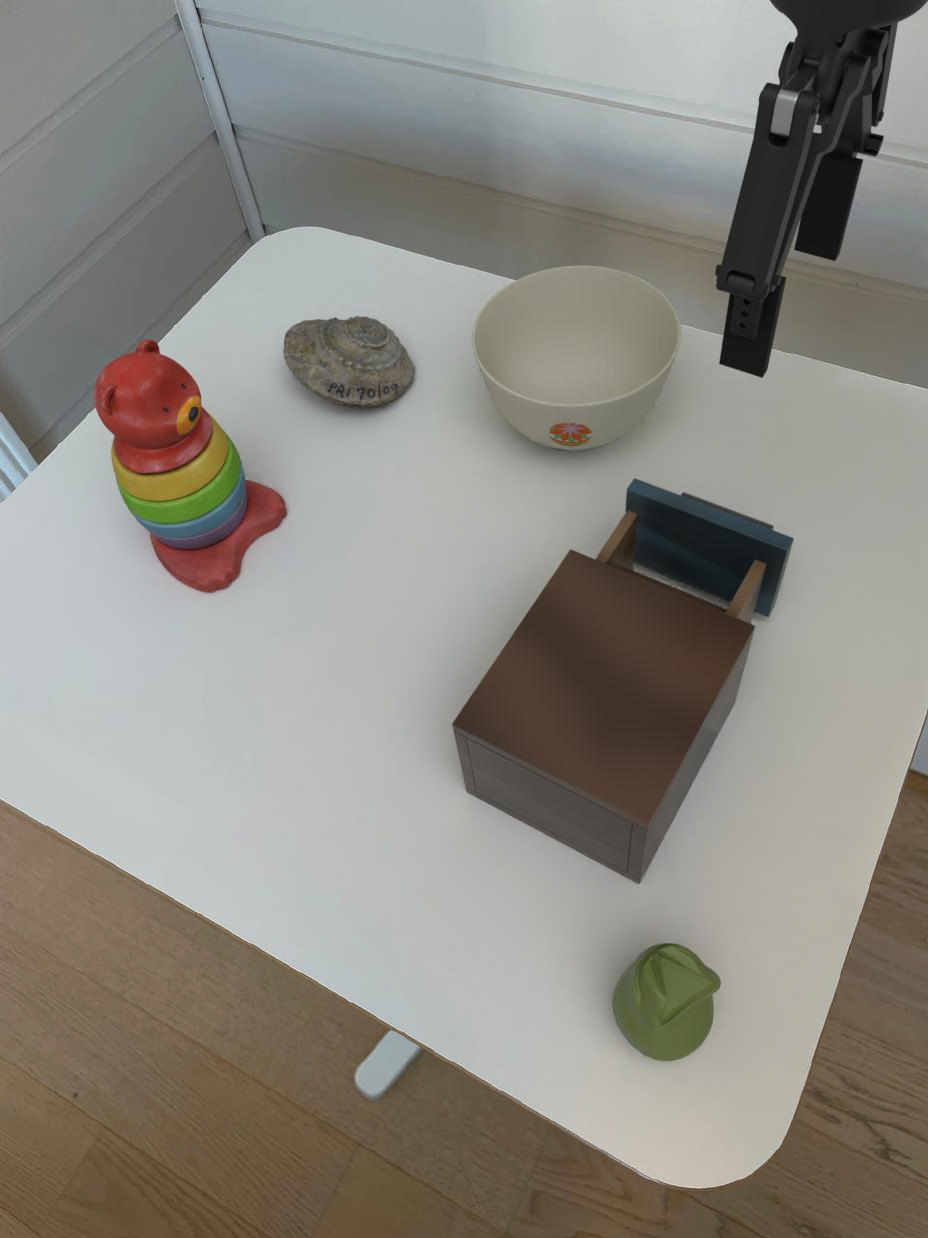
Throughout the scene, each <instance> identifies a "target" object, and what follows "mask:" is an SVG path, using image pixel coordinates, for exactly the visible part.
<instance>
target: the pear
mask: <svg viewBox="0 0 928 1238" xmlns="http://www.w3.org/2000/svg"><path fill="white" fill-rule="evenodd" d="M615 985H616V986H614V989H613V995H612V1013H613V1016H614V1020H615V1022H616V1025H617V1027H618V1028H619V1030H620V1032H621V1034H622V1035H623V1037H624V1038H625V1039H626V1040H627V1042H628V1044H630V1045H631V1046H632V1048H634V1049H635V1050H637V1052H639V1053H640V1054H642V1055H644V1056H645V1057H646V1058H647V1057H648V1058H649V1059H652V1060H655V1061H659V1062H672V1061H677V1060H681V1059H683V1058H685V1057H688V1056H690V1055H691V1054H693V1053H694V1052H696V1050H697V1049H699V1047H701V1046H702V1044H703V1043H704V1042H705V1041H706V1039H707V1037H708V1035H709V1033H710V1031H711V1029H712V1025H713V1021H714V1010H715V1009H714V1008H715V1007H714V997H713V995H714V994H715V993H717V992H718V991H719V990H720V988H721V985H722V980H721V978H720V976H719V975H718V973H716V972H715V971H714V970H713V969H712V968H710V967H709V966H707V965H706V964H705V963H704V962H703V961H702V959H701V958H700V957H699V956H698V954H696V953H695V952H693V951H692V950H691V949H689V948H688V947H686V946H684V945H681V944H679V943H673V942H663V943H657V944H654V945H651V946H649V947H648V948H646V949H644V950H643V951H642V952H641V953H640V954H639V955H638V956H637V957H636V958H635V960H634V961H633V962H632V963H631V964H630V965H629V966H628V967H627V968H626V970H625V971H624V972H623V974H622V975H621V976H620V978H619V979H618V981H617V983H616V984H615Z"/></svg>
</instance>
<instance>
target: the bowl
mask: <svg viewBox="0 0 928 1238" xmlns="http://www.w3.org/2000/svg"><path fill="white" fill-rule="evenodd" d="M681 338H682V330H681V323H680V319H679V316H678V313H677V311H676V309H675V307H674V305H673V304H672V303H671V301H670V300H669V298H667V296H666V295H665V294H664V293H663V292H661V291H660V290H659V289H658V287H656V286H655V285H653V284H652V283H649V282H648V281H646V280H644V279H642V278H640V277H638V276H636V275H634V274H631V273H629V272H626V271H622V270H619V269H614V268H610V267H605V266H597V265H567V266H565V265H564V266H558V267H552V268H547V269H543V270H540V271H539V270H538V271H535V272H533V273H530V274H527V275H524V276H522V277H520V278H518V279H516V280H514V281H512V282H511V283H509V284H507V285H506V286H505V287H503V288H501V289H500V290H498V291H497V292H496V293H495V294H494V295H492V297H490V299H488V301H487V302H486V303H485V304H484V306H482V308H481V310H480V311H479V313H478V314H477V316H476V319H475V320H474V324H473V328H472V333H471V347H472V352H473V353H472V354H473V356H474V359H475V362H476V364H477V366H478V369H479V372H480V375H481V376H482V379H483V381H484V384H485V386H486V388H487V391H488V393H489V396H490V397H491V399H492V402H493V403H494V405H495V406H496V409H497V410H498V411H499V413H500V414H501V416H502V417H503V418H504V419H505V421H506V422H507V423H508V424H509V425H510V426H511V427H512V428H513V429H515V430H516V431H517V432H518V433H520V434H521V435H522V436H524V437H525V438H527V439H529V440H531V441H533V442H535V443H538V444H539V445H543V446H546V447H548V448H554V449H558V450H564V451H570V452H571V451H572V452H577V451H585V450H590V449H594V448H598V447H602V446H604V445H607V444H610V443H612V442H614V441H617V440H619V439H621V438H622V437H623V436H626V435H627V434H629V432H631V431H633V430H634V429H635V428H636V427H637V426H639V424H641V422H643V420H644V419H645V418H646V417H647V416H648V414H649V413H650V412H651V410H652V409H653V408H654V406H655V405H656V403H657V401H658V399H659V397H660V395H661V393H662V392H663V391H662V390H663V388H664V386H665V384H666V382H667V379H668V377H669V375H670V372H671V369H672V367H673V365H674V362H675V361H676V360H675V359H676V357H677V354H678V351H679V348H680V344H681V341H682V340H681Z"/></svg>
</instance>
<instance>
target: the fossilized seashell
mask: <svg viewBox="0 0 928 1238" xmlns="http://www.w3.org/2000/svg"><path fill="white" fill-rule="evenodd" d="M282 350H283V359H284V360H285V364H286V366H287V367H288V369H289V371H290V372H291V373H292V375H293V376H294V378H295V379H297V380H298V382H300V383H301V385H302V386H304V387H306V389H308V390H310V391H311V392H312V393H314V394H316V395H317V396H319V397H320V398H323V399H325V400H327V401H330V402H331V403H333V404H336V405H339V406H343V407H352V408H353V407H366V408H367V407H368V408H373V407H378V406H381V405H384V404H388V403H389V402H392V401H394V400H395V399H396V398H398V397H399V396H400V395H402V394H403V393H404V392H405V391H406V390H407V388H409V386H410V385H411V384H412V382H413V381H414V373H415V371H416V367H415V365H414V362H413V360H412V359H411V357H410V356H409V353H408V352H407V351H408V350H407V348H406V347H405V346H404V345H403V344H402V343H401V342H400V337H399V336H397V335H396V334H395V331H394V330H392V329H391V328H389V327H388V326H387V325H386V324H385V323H383V322H381V321H380V320H378V319H376V318H371V317H369V316H361V315H360V316H359V315H356V316H354V317H353V316H351V317H348V319H340V318H337V317H335V316H334V317H333V318H328V319H320V318H316V319H306V320H305V319H304V320H302V321H300V322H297V323H295V324H294V325H292V326H290V327H289V328H288V329H287V331H285V334H284V338H283V349H282Z"/></svg>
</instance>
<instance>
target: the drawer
mask: <svg viewBox="0 0 928 1238" xmlns="http://www.w3.org/2000/svg"><path fill="white" fill-rule="evenodd" d="M774 527H775V526H774V525H773V524H770V523H767V522H766V521H762V520H760V519H757V518H754V517H751V516H749V515H746V514H743V513H742V512H738V511H736V510H733V509H731V508H728V507H726V506H722V505H719V504H717V503H715V502H712V501H709V500H706V499H703V498H701V497H698V496H696V495H693V494H691V493H688V492H685V491H684V492H682V493H681V494H678V493H675V492H672V491H670V490H668V489H664V488H663V487H659V486H657V485H654V484H651V483H649V482H646V481H643V480H642V479H641V480H640V479H638V478H635V477H634V478H633V479H632V480H631V482H630V484H629V485H628V487H627V488H626V496H625V512H624V514H623V516H622V518H621V519H620V521H619V522H618V524H617V525H616V527H615V529H614V530H613V532H612V533H611V534H610V536H609V537H608V539H607V540H606V542H605V543H604V545H603V546H602V548H601V549H600V551H599V552H598V554H597V556H596V557H595V559H596V560H598V561H600V562H603V563H605V564H608V565H610V566H612V567H615V568H617V569H620V570H622V571H625V572H627V573H629V574H632V575H634V576H637V577H639V578H641V579H644V580H646V581H649V582H651V583H653V584H656V585H658V586H661V587H663V588H666V589H668V590H670V591H673V592H675V593H678V594H680V595H682V596H685V597H687V598H690V599H692V600H695V601H697V602H699V603H702V604H704V605H707V606H709V607H711V608H714V609H716V610H719V611H721V612H723V613H726V614H728V615H731V616H733V617H736V618H738V619H740V620H743V621H745V622H748V623H750V624H752V622H753V621H752V620H753V617H754V614H755V613H757V614H759V615H761V616H763V617H765V618H769V617H770V615H771V614H772V612H773V611H774V608H775V606H776V603H777V600H778V597H779V592H780V589H781V585H782V581H783V579H784V576H785V571H786V568H787V565H788V561H789V557H790V555H791V550H792V547H793V544H794V540H795V538H794V537H792V536H789V535H787V534H784V533H782V532H779V531H777V530H774ZM634 564H635V565H636V564H637V565H639V566H641V567H644V568H646V569H649V570H651V571H654V572H656V573H659V574H661V575H663V576H666V577H669V578H670V579H673V580H675V581H678V582H680V583H683V584H686V585H688V586H690V587H693V588H695V589H698V590H699V591H702V592H704V593H708V594H710V595H712V596H715V597H717V598H719V599H723V600H724V601H727V602H730V603H729V605H728V606H727V608H725V607H722V606H720V605H718V604H716V603H713V602H711V601H708V600H706V599H703V598H701V597H699V596H696V595H694V594H691V593H689V592H686V591H684V590H682V589H680V588H677V587H674V586H672V585H669V584H667V583H665V582H662V581H660V580H658V579H655V578H652V577H650V576H648V575H645V574H643V573H641V572H638V571H636V570H634V566H635V565H634Z"/></svg>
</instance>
